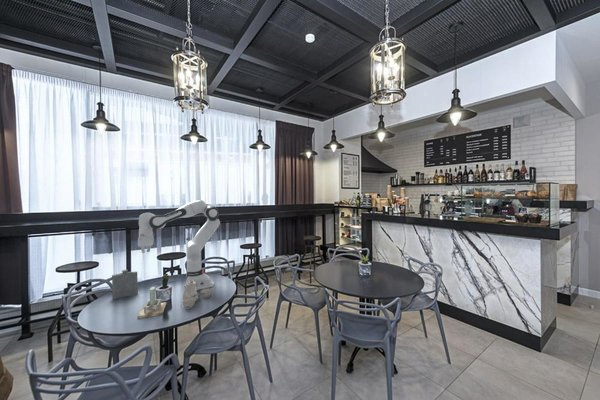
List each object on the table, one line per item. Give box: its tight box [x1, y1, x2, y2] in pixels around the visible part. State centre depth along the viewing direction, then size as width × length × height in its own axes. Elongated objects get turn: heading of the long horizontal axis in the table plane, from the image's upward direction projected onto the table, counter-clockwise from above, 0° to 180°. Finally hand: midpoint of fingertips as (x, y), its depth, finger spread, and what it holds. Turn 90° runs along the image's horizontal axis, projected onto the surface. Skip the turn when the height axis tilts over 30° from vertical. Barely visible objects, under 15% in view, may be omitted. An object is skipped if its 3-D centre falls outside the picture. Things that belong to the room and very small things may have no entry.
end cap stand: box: [137, 298, 167, 319], centre depth 163 cm, size 14×16×6 cm
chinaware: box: [180, 279, 213, 310], centre depth 177 cm, size 28×17×17 cm, turn 167°
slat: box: [148, 286, 157, 306], centre depth 163 cm, size 2×5×14 cm, turn 21°
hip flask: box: [111, 269, 139, 300], centre depth 188 cm, size 16×4×20 cm, turn 121°
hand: (145, 252), depth 183 cm, fingers open, 8 cm apart
